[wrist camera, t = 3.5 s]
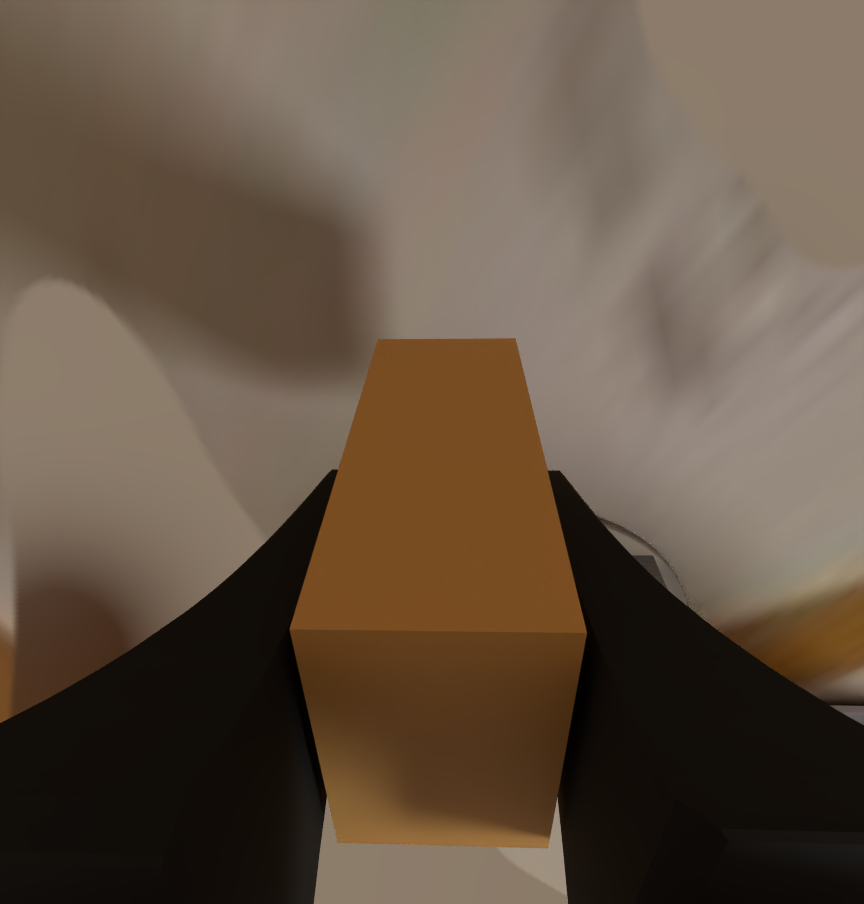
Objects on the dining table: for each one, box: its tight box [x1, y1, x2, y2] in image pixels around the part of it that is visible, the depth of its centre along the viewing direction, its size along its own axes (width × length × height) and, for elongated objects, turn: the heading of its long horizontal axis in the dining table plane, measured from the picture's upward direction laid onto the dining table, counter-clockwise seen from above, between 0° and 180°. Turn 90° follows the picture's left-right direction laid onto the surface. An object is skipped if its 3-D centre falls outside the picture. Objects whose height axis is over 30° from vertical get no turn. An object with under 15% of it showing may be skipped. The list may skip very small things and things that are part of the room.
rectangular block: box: [290, 338, 587, 848], centre depth 10 cm, size 3×4×8 cm, turn 1°
